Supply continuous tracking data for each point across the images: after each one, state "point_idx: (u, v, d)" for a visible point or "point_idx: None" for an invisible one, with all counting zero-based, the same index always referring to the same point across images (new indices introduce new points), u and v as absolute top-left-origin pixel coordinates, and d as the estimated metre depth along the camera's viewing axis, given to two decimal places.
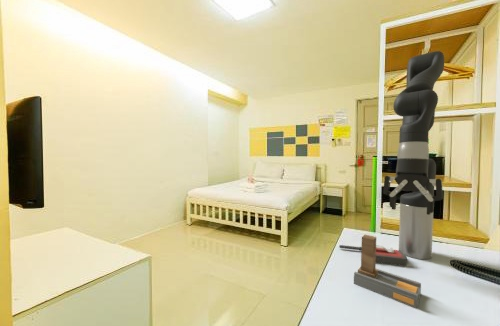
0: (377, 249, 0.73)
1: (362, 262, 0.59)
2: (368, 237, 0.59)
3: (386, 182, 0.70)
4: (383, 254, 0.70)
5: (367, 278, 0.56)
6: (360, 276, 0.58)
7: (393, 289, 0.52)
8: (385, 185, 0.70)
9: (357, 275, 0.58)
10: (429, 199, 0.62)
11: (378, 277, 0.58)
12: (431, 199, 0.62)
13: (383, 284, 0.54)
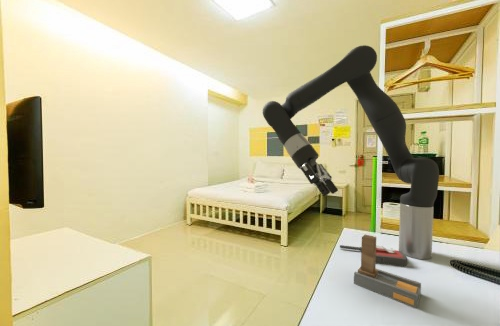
0: (377, 249, 0.73)
1: (362, 262, 0.59)
2: (368, 237, 0.59)
3: None
4: (383, 254, 0.70)
5: (367, 278, 0.56)
6: (360, 276, 0.58)
7: (393, 289, 0.52)
8: None
9: (357, 275, 0.58)
10: None
11: (378, 277, 0.58)
12: None
13: (383, 284, 0.54)
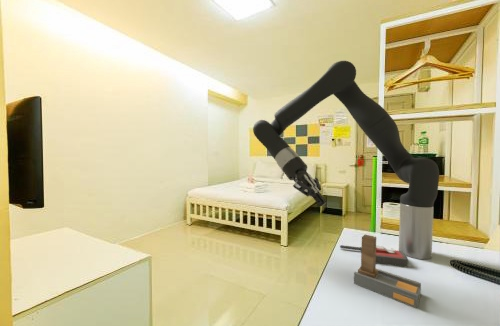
0: (378, 249, 0.73)
1: (362, 262, 0.59)
2: (368, 237, 0.59)
3: None
4: (383, 254, 0.70)
5: (367, 278, 0.56)
6: (360, 276, 0.58)
7: (393, 289, 0.52)
8: None
9: (357, 275, 0.58)
10: None
11: (378, 277, 0.58)
12: None
13: (383, 284, 0.54)
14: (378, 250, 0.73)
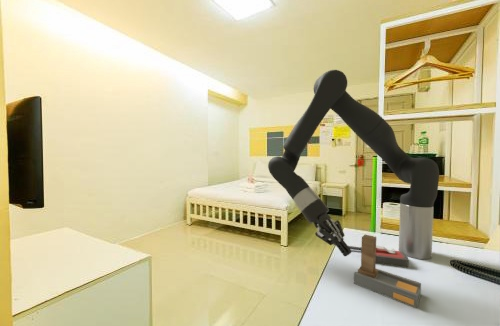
0: (378, 250, 0.73)
1: (362, 262, 0.59)
2: (368, 237, 0.59)
3: None
4: (384, 255, 0.70)
5: (367, 278, 0.56)
6: (360, 276, 0.58)
7: (393, 289, 0.52)
8: None
9: (357, 275, 0.58)
10: None
11: (378, 277, 0.58)
12: None
13: (383, 284, 0.54)
14: (378, 250, 0.72)
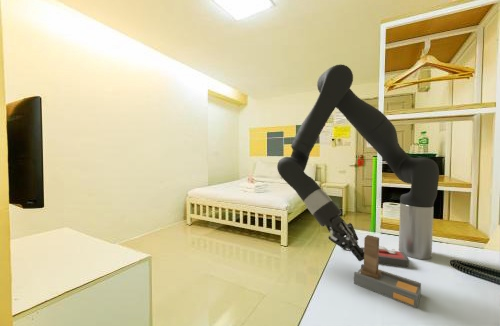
0: None
1: (365, 263, 0.58)
2: (371, 238, 0.58)
3: None
4: (384, 255, 0.69)
5: (367, 278, 0.56)
6: (360, 276, 0.58)
7: (393, 289, 0.52)
8: None
9: (357, 275, 0.58)
10: None
11: None
12: None
13: (383, 284, 0.54)
14: (379, 250, 0.72)
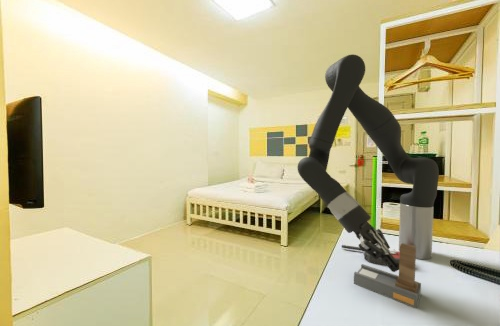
0: None
1: (400, 274, 0.53)
2: (407, 246, 0.53)
3: None
4: None
5: (367, 278, 0.56)
6: (360, 276, 0.58)
7: (393, 289, 0.52)
8: None
9: (357, 275, 0.58)
10: None
11: (378, 277, 0.58)
12: None
13: (383, 284, 0.54)
14: None
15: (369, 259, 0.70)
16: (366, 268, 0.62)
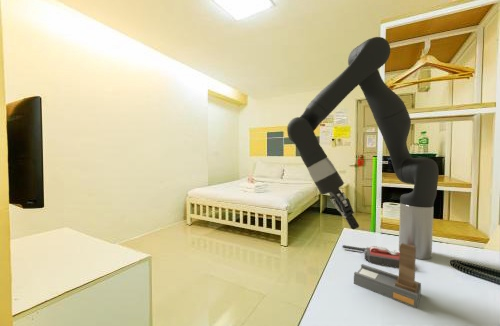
0: (380, 251, 0.72)
1: (400, 274, 0.53)
2: (407, 246, 0.53)
3: None
4: (385, 256, 0.69)
5: (367, 278, 0.56)
6: (360, 276, 0.58)
7: (393, 289, 0.52)
8: None
9: (357, 275, 0.58)
10: (344, 216, 0.65)
11: (378, 277, 0.58)
12: (344, 216, 0.64)
13: (383, 284, 0.54)
14: (380, 251, 0.72)
15: (369, 259, 0.70)
16: (366, 268, 0.62)
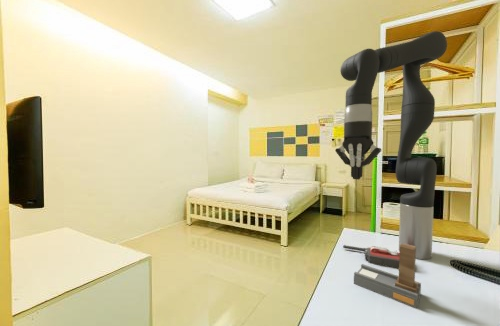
0: (380, 251, 0.72)
1: (400, 274, 0.53)
2: (407, 246, 0.53)
3: (340, 154, 0.68)
4: (385, 256, 0.69)
5: (367, 278, 0.56)
6: (360, 276, 0.58)
7: (393, 289, 0.52)
8: (341, 157, 0.68)
9: (357, 275, 0.58)
10: (357, 164, 0.65)
11: (378, 277, 0.58)
12: (358, 164, 0.65)
13: (383, 284, 0.54)
14: (381, 251, 0.71)
15: (369, 260, 0.70)
16: (366, 268, 0.62)
